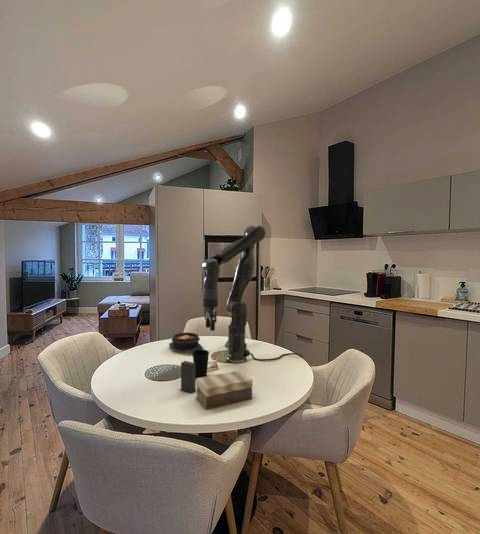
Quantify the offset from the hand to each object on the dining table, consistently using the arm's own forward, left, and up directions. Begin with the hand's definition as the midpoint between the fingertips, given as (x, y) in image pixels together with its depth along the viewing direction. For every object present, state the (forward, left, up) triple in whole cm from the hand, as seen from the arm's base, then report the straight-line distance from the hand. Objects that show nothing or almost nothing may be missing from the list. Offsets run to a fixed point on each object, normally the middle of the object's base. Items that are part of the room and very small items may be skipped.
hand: (210, 328), depth 161 cm
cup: (+10, +11, -20) cm, 25 cm away
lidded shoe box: (+9, +35, -20) cm, 41 cm away
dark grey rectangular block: (+20, +22, -20) cm, 36 cm away
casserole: (+3, -32, -20) cm, 37 cm away
